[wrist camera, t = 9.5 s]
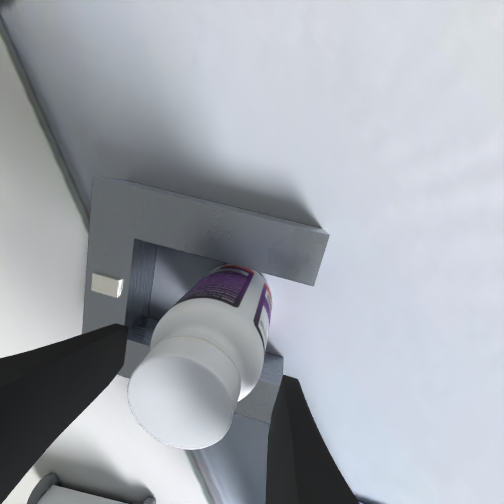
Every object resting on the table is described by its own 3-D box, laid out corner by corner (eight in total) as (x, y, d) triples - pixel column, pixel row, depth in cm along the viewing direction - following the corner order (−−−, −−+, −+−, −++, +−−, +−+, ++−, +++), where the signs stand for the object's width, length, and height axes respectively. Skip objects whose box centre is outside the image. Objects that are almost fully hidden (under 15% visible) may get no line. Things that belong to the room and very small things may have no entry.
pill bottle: (187, 298, 19) (82, 398, 9) (231, 246, 17) (162, 303, 8) (240, 344, 19) (191, 490, 9) (289, 297, 17) (287, 412, 8)
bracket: (273, 390, 19) (270, 427, 16) (109, 339, 21) (77, 364, 17) (322, 228, 16) (330, 235, 13) (125, 180, 17) (90, 176, 14)
